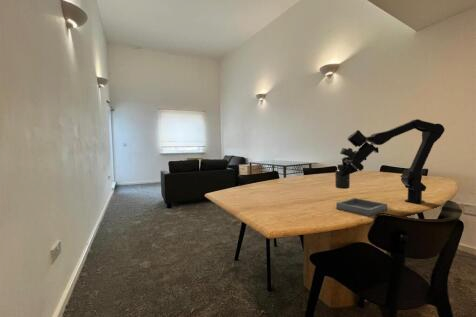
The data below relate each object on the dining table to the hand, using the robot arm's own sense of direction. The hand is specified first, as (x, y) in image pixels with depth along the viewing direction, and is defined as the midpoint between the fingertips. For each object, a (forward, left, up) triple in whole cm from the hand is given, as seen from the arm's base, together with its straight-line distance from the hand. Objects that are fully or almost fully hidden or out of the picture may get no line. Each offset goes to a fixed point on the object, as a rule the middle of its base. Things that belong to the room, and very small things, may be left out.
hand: (339, 175), depth 126 cm
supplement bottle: (-1, +1, -7) cm, 7 cm away
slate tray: (+8, +16, -13) cm, 22 cm away
